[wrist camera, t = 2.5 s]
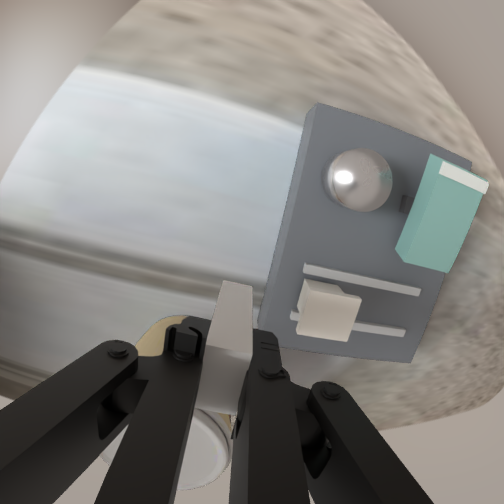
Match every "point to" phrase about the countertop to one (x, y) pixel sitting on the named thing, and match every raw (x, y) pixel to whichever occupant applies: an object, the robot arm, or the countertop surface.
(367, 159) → the plunger
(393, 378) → the countertop surface
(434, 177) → the block
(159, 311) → the countertop surface
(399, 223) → the console
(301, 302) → the slider
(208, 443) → the coffee cup
